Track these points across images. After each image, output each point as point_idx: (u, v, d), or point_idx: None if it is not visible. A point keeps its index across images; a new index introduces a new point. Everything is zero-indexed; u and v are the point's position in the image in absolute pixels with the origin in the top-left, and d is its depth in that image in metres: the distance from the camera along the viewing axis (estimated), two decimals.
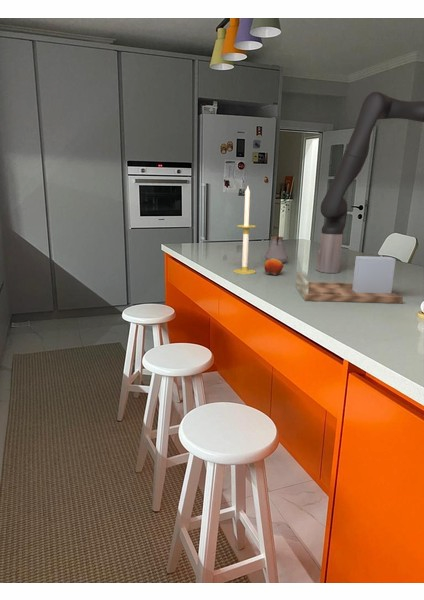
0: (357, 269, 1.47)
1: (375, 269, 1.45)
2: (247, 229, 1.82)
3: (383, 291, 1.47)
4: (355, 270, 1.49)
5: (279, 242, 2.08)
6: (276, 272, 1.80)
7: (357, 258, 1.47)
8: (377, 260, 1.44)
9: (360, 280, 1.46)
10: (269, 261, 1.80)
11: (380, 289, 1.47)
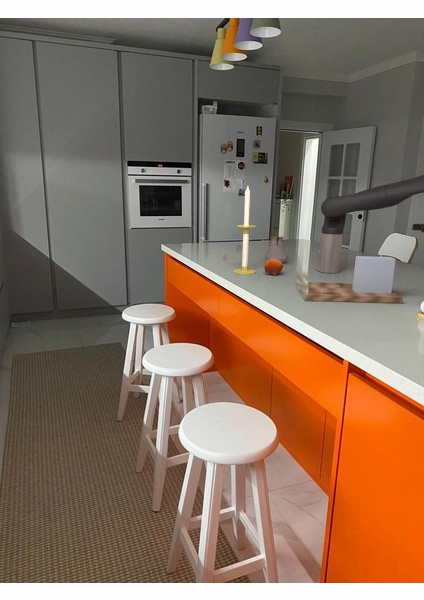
0: (357, 269, 1.47)
1: (375, 269, 1.45)
2: (247, 229, 1.82)
3: (383, 291, 1.47)
4: (355, 270, 1.49)
5: (279, 242, 2.08)
6: (276, 272, 1.80)
7: (357, 258, 1.47)
8: (377, 260, 1.44)
9: (360, 280, 1.46)
10: (269, 261, 1.80)
11: (380, 289, 1.47)
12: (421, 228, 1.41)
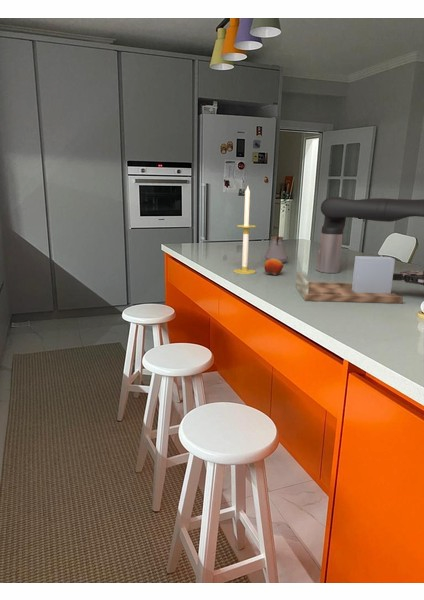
0: (356, 269, 1.47)
1: (375, 269, 1.45)
2: (247, 229, 1.82)
3: (382, 291, 1.47)
4: (354, 270, 1.49)
5: (279, 242, 2.08)
6: (276, 272, 1.80)
7: (356, 258, 1.47)
8: (376, 260, 1.44)
9: (359, 280, 1.46)
10: (269, 261, 1.80)
11: (379, 289, 1.47)
12: None
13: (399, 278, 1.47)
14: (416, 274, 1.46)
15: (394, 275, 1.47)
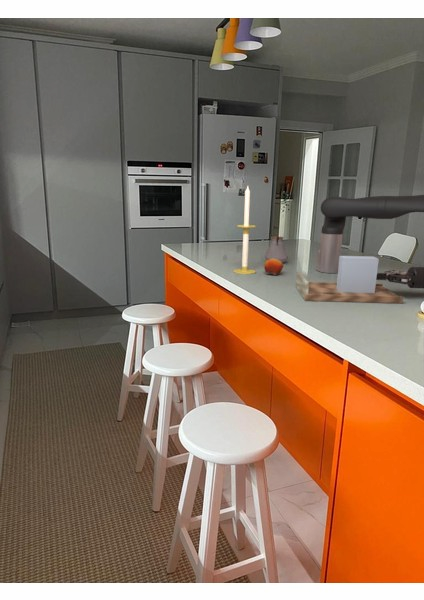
0: (340, 269, 1.47)
1: (358, 268, 1.45)
2: (247, 229, 1.82)
3: (366, 291, 1.47)
4: (339, 270, 1.49)
5: (279, 242, 2.08)
6: (276, 272, 1.80)
7: (341, 258, 1.47)
8: (360, 260, 1.44)
9: (343, 279, 1.46)
10: (269, 261, 1.80)
11: (363, 289, 1.47)
12: None
13: (383, 277, 1.47)
14: (400, 274, 1.46)
15: (378, 274, 1.47)
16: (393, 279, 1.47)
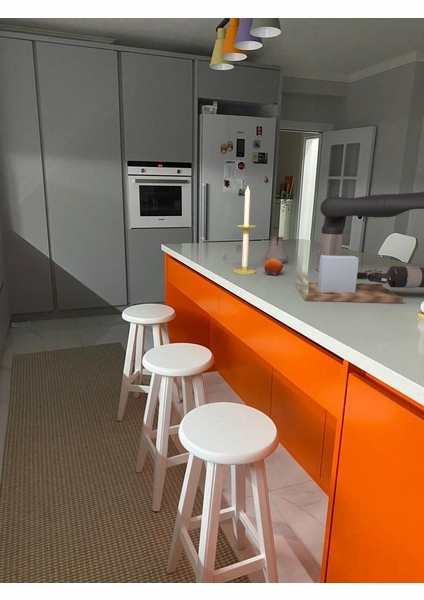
0: (321, 268, 1.47)
1: (339, 268, 1.45)
2: (247, 229, 1.82)
3: (347, 290, 1.47)
4: (320, 269, 1.49)
5: (279, 242, 2.08)
6: (276, 272, 1.80)
7: (321, 257, 1.47)
8: (340, 259, 1.44)
9: (324, 279, 1.46)
10: (269, 261, 1.80)
11: (344, 288, 1.47)
12: None
13: (363, 277, 1.47)
14: (380, 273, 1.46)
15: (358, 274, 1.47)
16: (373, 278, 1.47)
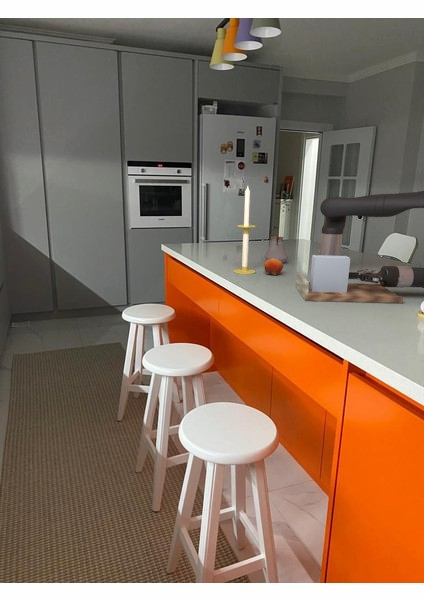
0: (313, 268, 1.47)
1: (330, 268, 1.45)
2: (247, 229, 1.82)
3: (339, 290, 1.47)
4: (311, 269, 1.49)
5: (279, 242, 2.08)
6: (276, 272, 1.80)
7: (313, 257, 1.47)
8: (332, 259, 1.44)
9: (315, 279, 1.46)
10: (269, 261, 1.80)
11: (335, 288, 1.47)
12: None
13: (355, 277, 1.47)
14: (372, 273, 1.46)
15: (350, 274, 1.47)
16: (365, 278, 1.47)
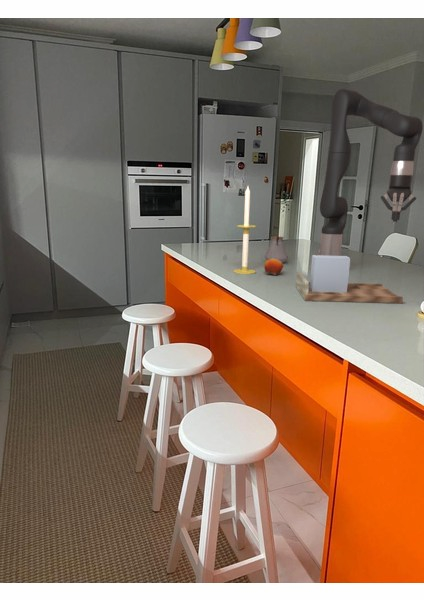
0: (313, 268, 1.47)
1: (330, 268, 1.45)
2: (247, 229, 1.82)
3: (339, 290, 1.47)
4: (311, 269, 1.49)
5: (279, 242, 2.08)
6: (276, 272, 1.80)
7: (313, 257, 1.47)
8: (332, 259, 1.44)
9: (315, 279, 1.46)
10: (269, 261, 1.80)
11: (335, 288, 1.47)
12: (395, 221, 1.61)
13: (399, 214, 1.60)
14: (402, 199, 1.57)
15: (398, 218, 1.60)
16: None
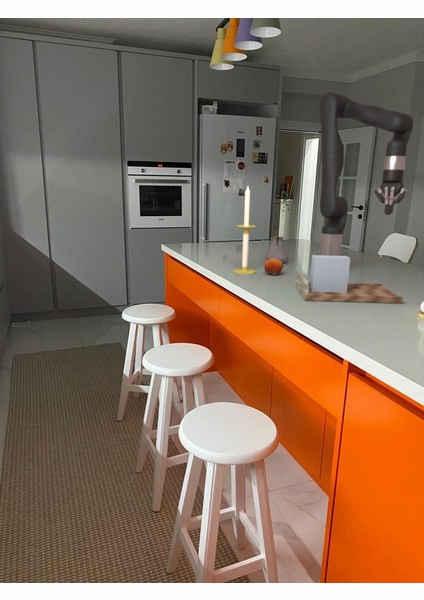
0: (313, 268, 1.47)
1: (330, 268, 1.45)
2: (247, 229, 1.82)
3: (339, 290, 1.47)
4: (311, 269, 1.49)
5: (279, 242, 2.08)
6: (276, 272, 1.80)
7: (313, 257, 1.47)
8: (332, 259, 1.44)
9: (315, 279, 1.46)
10: (269, 261, 1.80)
11: (335, 288, 1.47)
12: (388, 214, 1.67)
13: (392, 207, 1.66)
14: (393, 193, 1.63)
15: (390, 212, 1.66)
16: (394, 198, 1.65)
